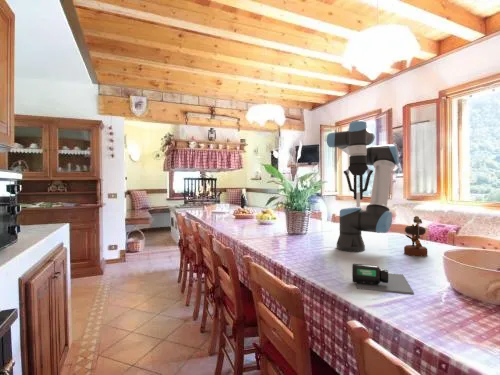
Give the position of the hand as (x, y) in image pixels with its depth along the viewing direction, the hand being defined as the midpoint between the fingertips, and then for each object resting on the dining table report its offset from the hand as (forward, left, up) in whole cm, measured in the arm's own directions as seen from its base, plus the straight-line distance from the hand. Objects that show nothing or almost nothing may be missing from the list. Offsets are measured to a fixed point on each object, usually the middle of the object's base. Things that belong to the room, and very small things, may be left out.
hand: (358, 206), depth 133 cm
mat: (+18, -16, -26) cm, 36 cm away
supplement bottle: (+11, -26, -23) cm, 36 cm away
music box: (+11, +38, -27) cm, 48 cm away
